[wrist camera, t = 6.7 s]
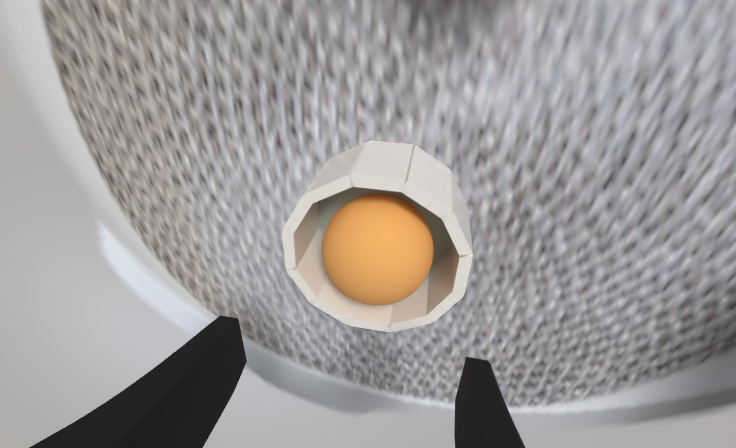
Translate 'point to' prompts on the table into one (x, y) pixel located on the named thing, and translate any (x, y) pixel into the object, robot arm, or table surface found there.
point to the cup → (396, 178)
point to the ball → (377, 249)
